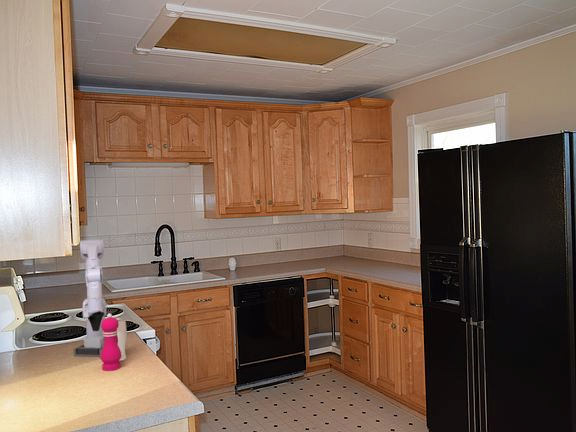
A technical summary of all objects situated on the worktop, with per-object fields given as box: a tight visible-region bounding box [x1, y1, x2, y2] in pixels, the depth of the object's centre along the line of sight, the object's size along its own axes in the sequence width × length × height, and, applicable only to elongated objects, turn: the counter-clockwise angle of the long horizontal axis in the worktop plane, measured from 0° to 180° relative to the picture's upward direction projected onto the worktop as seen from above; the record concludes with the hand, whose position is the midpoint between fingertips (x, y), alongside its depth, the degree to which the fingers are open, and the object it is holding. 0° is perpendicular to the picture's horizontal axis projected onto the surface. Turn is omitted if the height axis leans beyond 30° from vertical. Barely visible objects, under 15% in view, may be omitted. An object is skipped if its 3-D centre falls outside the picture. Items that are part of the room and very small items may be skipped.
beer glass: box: [116, 318, 128, 362], centre depth 192 cm, size 7×7×15 cm
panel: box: [83, 336, 104, 348], centre depth 201 cm, size 2×7×6 cm, turn 80°
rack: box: [73, 343, 103, 358], centre depth 201 cm, size 9×12×3 cm
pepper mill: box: [99, 312, 122, 372], centre depth 182 cm, size 7×7×20 cm
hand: (96, 330), depth 205 cm, fingers closed
